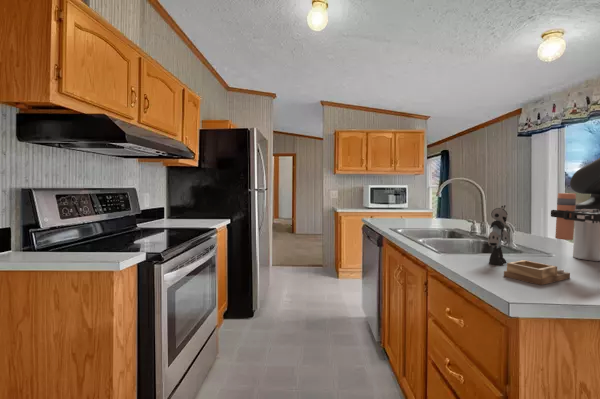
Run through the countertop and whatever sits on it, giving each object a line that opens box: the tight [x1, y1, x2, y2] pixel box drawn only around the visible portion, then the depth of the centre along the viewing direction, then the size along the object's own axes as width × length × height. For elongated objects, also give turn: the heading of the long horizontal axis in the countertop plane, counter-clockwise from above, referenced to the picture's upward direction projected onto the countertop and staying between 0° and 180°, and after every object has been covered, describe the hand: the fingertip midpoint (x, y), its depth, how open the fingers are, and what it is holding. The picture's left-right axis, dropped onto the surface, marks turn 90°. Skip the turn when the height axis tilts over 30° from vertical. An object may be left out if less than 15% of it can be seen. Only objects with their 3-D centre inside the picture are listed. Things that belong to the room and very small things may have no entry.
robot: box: [487, 205, 510, 267], centre depth 119 cm, size 20×5×20 cm, turn 139°
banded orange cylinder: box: [555, 192, 577, 241], centre depth 107 cm, size 4×4×14 cm
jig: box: [503, 259, 571, 286], centre depth 102 cm, size 16×10×4 cm, turn 119°
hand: (555, 212), depth 109 cm, fingers closed on banded orange cylinder, 4 cm apart
